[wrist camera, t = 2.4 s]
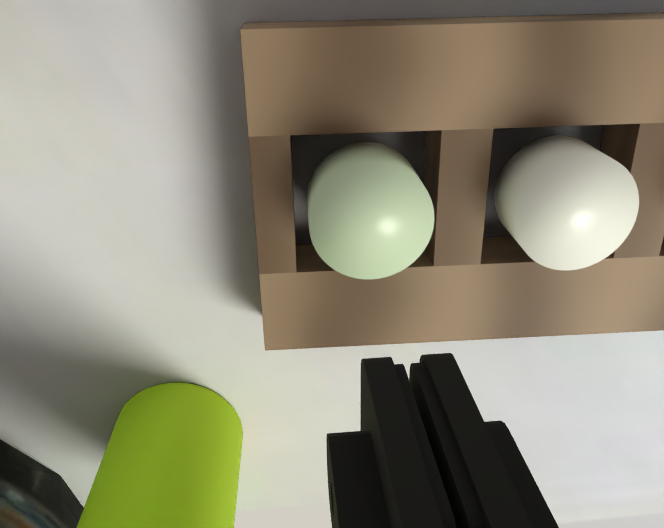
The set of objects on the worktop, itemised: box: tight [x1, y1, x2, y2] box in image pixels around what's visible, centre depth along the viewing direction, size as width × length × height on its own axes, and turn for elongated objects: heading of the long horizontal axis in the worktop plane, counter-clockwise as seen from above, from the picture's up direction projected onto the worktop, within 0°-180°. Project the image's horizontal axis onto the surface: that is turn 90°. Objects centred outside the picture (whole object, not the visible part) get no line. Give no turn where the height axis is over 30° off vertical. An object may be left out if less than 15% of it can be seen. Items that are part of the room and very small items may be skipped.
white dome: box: [494, 135, 639, 270], centre depth 22 cm, size 4×4×2 cm
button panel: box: [240, 13, 664, 350], centre depth 24 cm, size 22×12×2 cm, turn 91°
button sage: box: [307, 142, 434, 279], centre depth 22 cm, size 4×4×2 cm
